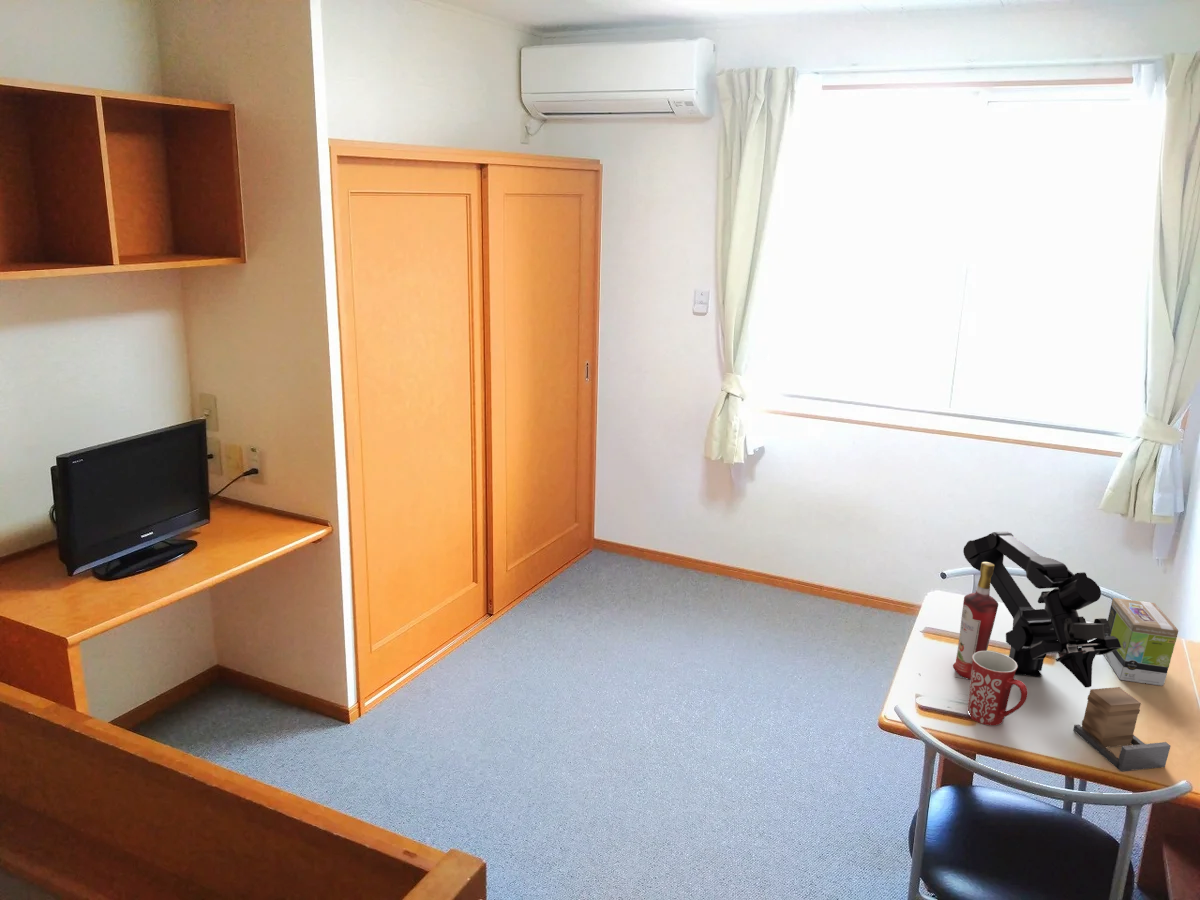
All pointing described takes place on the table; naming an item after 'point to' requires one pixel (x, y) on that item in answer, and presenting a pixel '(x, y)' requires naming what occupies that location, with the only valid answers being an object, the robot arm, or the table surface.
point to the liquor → (976, 622)
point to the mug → (992, 687)
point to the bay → (1130, 752)
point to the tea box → (1141, 641)
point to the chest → (1111, 716)
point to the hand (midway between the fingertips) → (1088, 687)
